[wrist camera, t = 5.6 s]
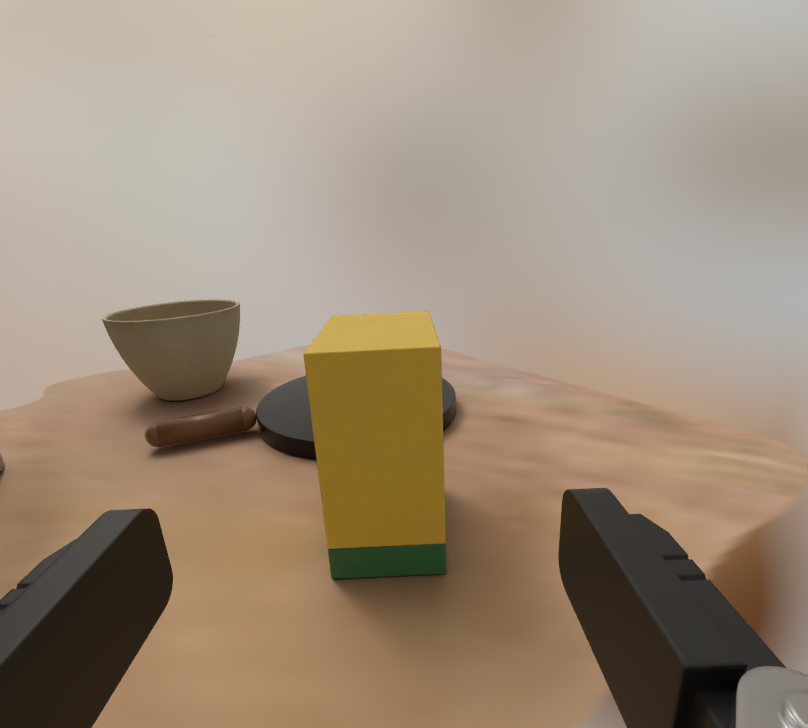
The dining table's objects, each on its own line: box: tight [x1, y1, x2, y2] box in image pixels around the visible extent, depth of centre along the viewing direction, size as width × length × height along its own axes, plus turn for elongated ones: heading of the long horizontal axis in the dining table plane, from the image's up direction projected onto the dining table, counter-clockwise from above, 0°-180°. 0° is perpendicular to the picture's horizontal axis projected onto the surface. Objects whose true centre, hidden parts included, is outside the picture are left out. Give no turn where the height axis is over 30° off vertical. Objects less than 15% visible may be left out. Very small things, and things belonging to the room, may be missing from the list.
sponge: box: [304, 311, 446, 579], centre depth 18 cm, size 4×6×9 cm
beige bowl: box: [102, 299, 240, 401], centre depth 37 cm, size 10×10×7 cm
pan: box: [145, 376, 456, 459], centre depth 30 cm, size 21×14×2 cm
